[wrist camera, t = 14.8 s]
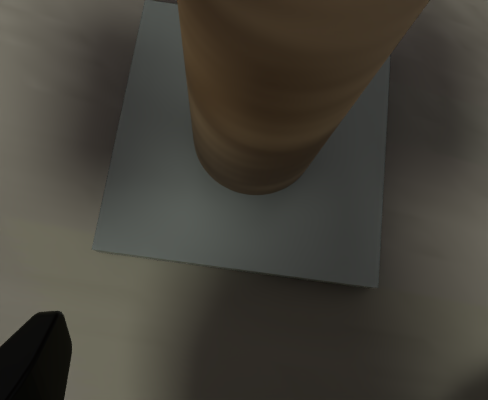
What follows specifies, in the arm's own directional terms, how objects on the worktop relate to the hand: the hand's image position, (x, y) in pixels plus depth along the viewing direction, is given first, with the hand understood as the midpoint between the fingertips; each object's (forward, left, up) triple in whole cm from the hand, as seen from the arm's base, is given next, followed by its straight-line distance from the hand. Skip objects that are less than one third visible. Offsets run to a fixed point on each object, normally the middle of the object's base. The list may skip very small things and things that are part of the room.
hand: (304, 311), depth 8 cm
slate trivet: (+1, -7, -9) cm, 11 cm away
